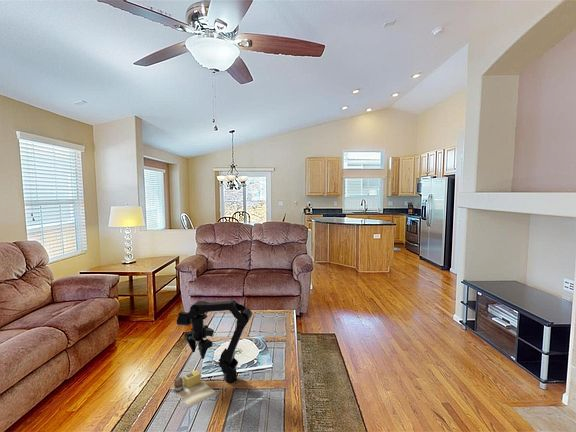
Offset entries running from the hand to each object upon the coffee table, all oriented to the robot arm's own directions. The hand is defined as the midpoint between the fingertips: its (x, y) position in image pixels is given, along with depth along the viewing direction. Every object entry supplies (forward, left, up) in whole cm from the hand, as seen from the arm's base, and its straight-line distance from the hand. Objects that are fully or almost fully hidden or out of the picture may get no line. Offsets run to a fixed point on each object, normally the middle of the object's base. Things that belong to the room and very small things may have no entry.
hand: (198, 355), depth 162 cm
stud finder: (-3, +5, -11) cm, 13 cm away
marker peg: (-3, +12, -11) cm, 17 cm away
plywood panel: (-9, +8, -12) cm, 17 cm away
